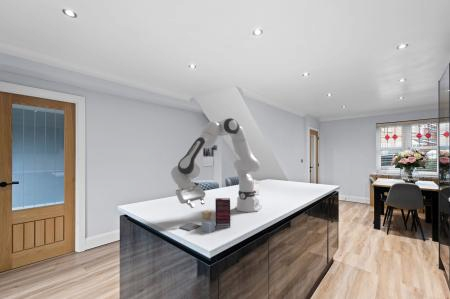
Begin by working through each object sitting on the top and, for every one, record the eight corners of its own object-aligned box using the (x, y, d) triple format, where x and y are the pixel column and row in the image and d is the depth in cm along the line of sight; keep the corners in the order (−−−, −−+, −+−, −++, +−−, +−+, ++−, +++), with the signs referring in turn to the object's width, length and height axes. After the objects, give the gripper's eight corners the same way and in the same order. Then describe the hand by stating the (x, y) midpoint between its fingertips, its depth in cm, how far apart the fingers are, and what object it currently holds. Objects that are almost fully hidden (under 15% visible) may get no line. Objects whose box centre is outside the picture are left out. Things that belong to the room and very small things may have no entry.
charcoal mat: (190, 223, 122) (190, 222, 122) (200, 226, 118) (200, 225, 118) (179, 228, 115) (179, 227, 115) (189, 231, 110) (189, 230, 110)
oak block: (206, 223, 122) (206, 210, 123) (211, 225, 120) (211, 211, 120) (202, 225, 119) (202, 211, 119) (207, 227, 117) (207, 212, 117)
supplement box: (230, 224, 121) (230, 197, 121) (230, 227, 116) (230, 199, 116) (215, 224, 120) (215, 197, 121) (215, 227, 116) (215, 199, 116)
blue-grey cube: (207, 228, 115) (207, 219, 115) (215, 230, 112) (215, 221, 112) (202, 231, 111) (202, 221, 111) (209, 233, 108) (209, 223, 108)
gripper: (177, 186, 120) (189, 205, 114) (200, 182, 136) (211, 199, 131) (171, 193, 122) (183, 212, 116) (195, 188, 139) (206, 205, 133)
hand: (198, 205), depth 124 cm, fingers open, 8 cm apart
